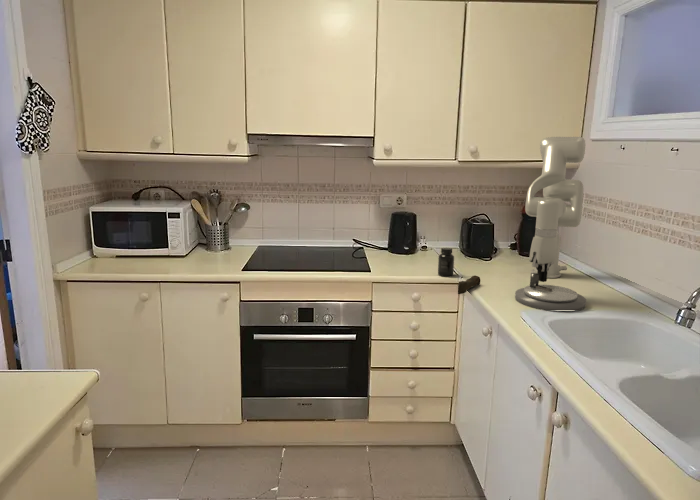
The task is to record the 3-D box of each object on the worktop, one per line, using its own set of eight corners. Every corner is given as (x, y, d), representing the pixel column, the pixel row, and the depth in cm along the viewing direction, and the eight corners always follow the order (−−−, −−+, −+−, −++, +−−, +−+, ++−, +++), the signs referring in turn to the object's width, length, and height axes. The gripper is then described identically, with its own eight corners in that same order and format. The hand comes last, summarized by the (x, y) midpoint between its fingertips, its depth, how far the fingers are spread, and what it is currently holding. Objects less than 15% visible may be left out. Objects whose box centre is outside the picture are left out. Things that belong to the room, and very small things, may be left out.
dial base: (555, 290, 189) (556, 284, 188) (601, 308, 166) (602, 302, 166) (502, 294, 183) (502, 288, 182) (542, 314, 160) (542, 307, 159)
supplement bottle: (456, 275, 210) (458, 249, 207) (445, 277, 206) (446, 250, 204) (445, 272, 215) (446, 246, 213) (434, 274, 212) (435, 248, 209)
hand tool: (471, 283, 198) (471, 273, 197) (480, 285, 196) (481, 274, 195) (451, 294, 183) (451, 282, 182) (461, 296, 181) (461, 284, 180)
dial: (587, 297, 171) (589, 280, 170) (557, 305, 162) (558, 287, 160) (543, 285, 186) (545, 269, 185) (513, 292, 176) (514, 275, 175)
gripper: (551, 230, 184) (546, 276, 187) (523, 233, 177) (519, 281, 180) (568, 233, 177) (563, 280, 181) (540, 236, 170) (535, 285, 174)
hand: (541, 280), depth 181 cm, fingers closed
